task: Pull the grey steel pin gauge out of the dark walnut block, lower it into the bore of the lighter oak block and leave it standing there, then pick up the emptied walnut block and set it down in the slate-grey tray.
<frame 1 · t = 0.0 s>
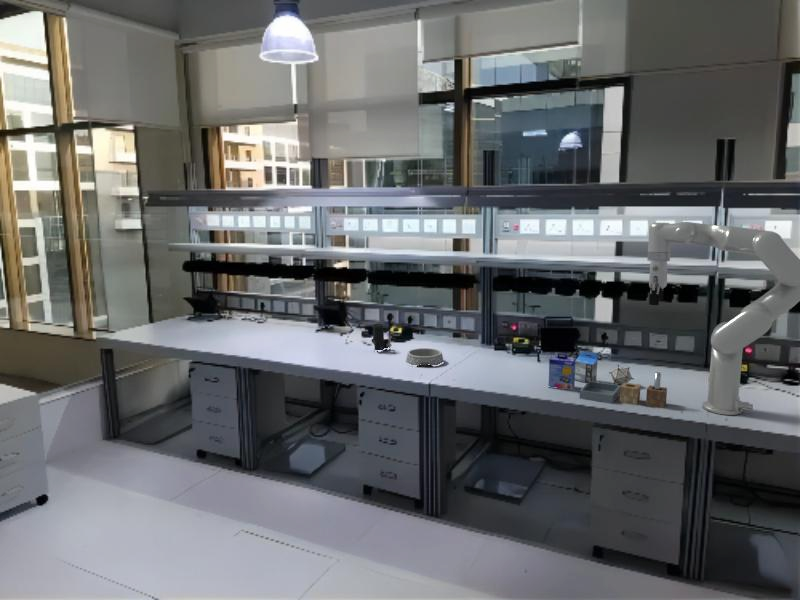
hand: (656, 303, 215), 37 cm above the table, tool pointing down, fingers open, 9 cm apart
scope: (379, 351, 299), on the table
tray: (600, 395, 224), on the table
ink cartridge box: (561, 387, 235), on the table
pin gauge: (657, 388, 213), in the walnut block
label tape box: (584, 381, 243), on the table
oak block: (629, 401, 218), on the table
beige spiked polyhedron: (620, 385, 237), on the table
dog bowl: (424, 363, 276), on the table
walnut block: (656, 404, 214), on the table
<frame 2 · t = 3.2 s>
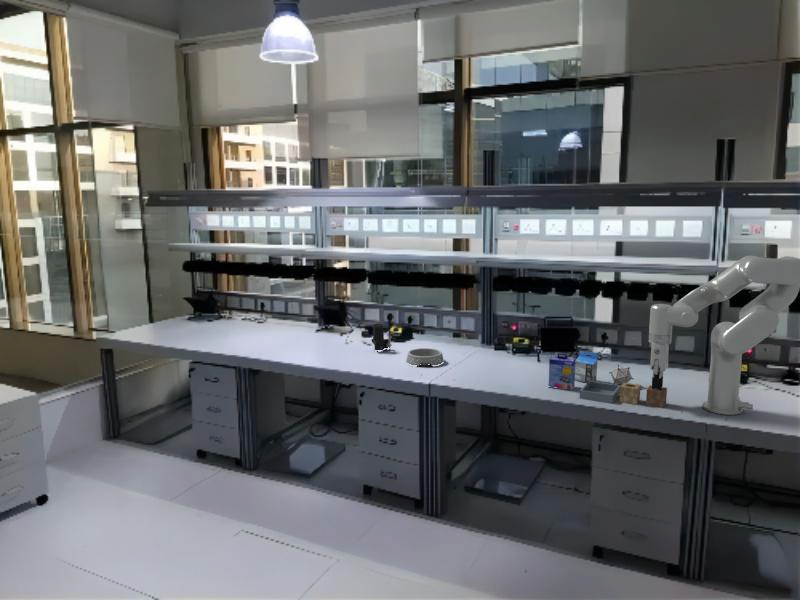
hand: (657, 386, 213), 7 cm above the table, tool pointing down, fingers closed on pin gauge, 2 cm apart
pin gauge: (656, 388, 213), in the walnut block, touching gripper
everything else where it was.
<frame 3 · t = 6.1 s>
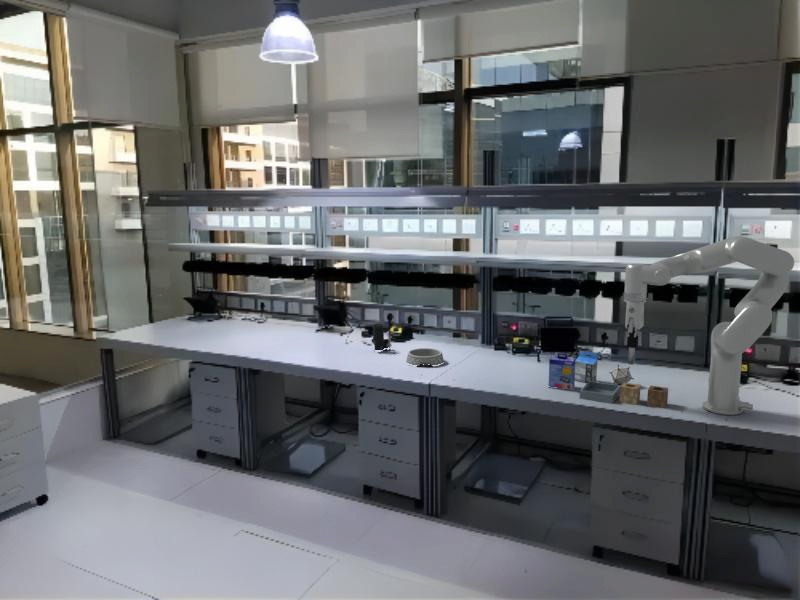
hand: (632, 346, 215), 21 cm above the table, tool pointing down, fingers closed on pin gauge, 2 cm apart
pin gauge: (632, 348, 215), point 20 cm above the table, touching gripper
everything else where it was.
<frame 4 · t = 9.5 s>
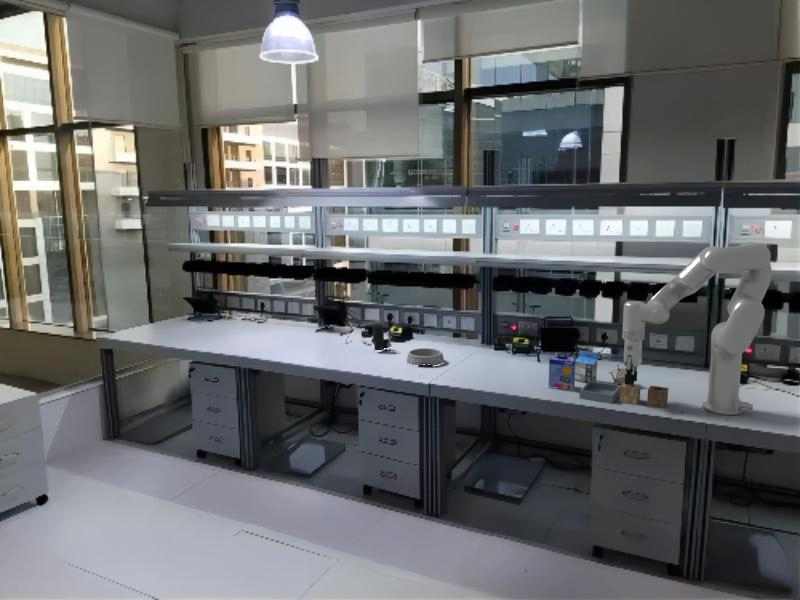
hand: (630, 382, 217), 7 cm above the table, tool pointing down, fingers open, 4 cm apart
pin gauge: (630, 385, 217), in the oak block
everything else where it was.
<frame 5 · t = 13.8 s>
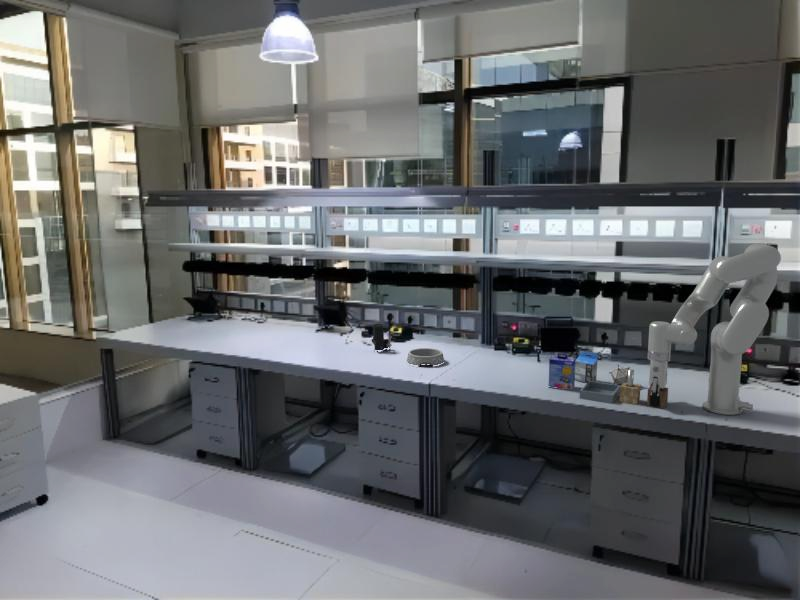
hand: (656, 402, 214), 1 cm above the table, tool pointing down, fingers closed on walnut block, 6 cm apart
walnut block: (657, 404, 214), on the table, touching gripper
everything else where it was.
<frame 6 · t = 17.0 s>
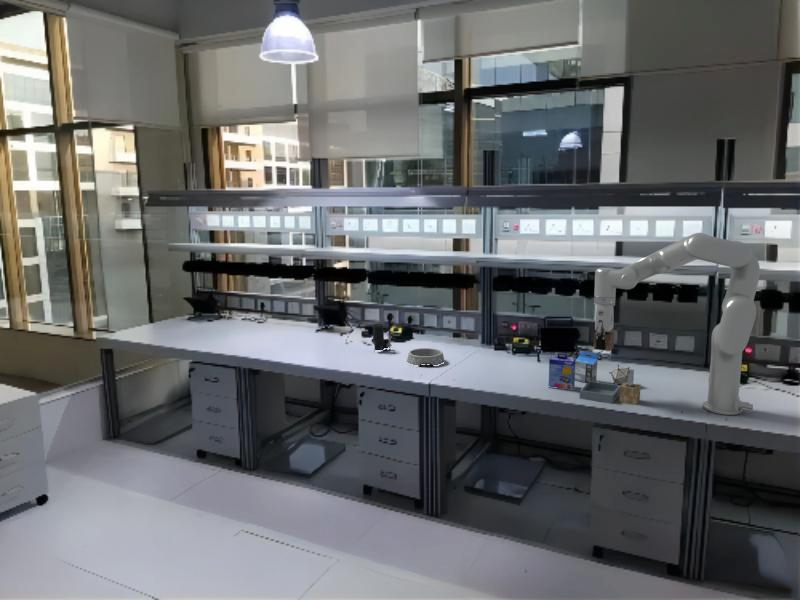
hand: (602, 347, 221), 19 cm above the table, tool pointing down, fingers closed on walnut block, 6 cm apart
walnut block: (603, 348, 221), point 19 cm above the table, touching gripper
everything else where it was.
when the fingers open (3 cm above the table, at t = 20.4 s): walnut block drops 2 cm, resting on tray.
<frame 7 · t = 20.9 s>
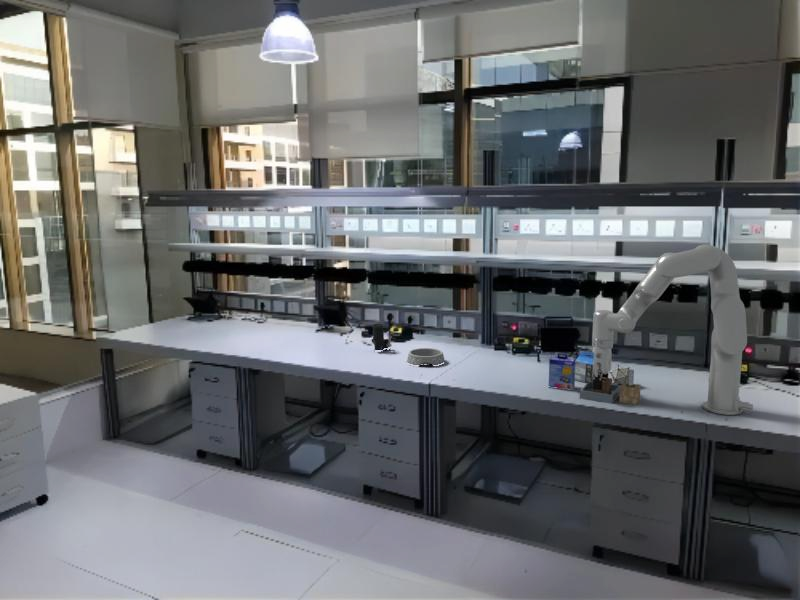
hand: (600, 386, 224), 4 cm above the table, tool pointing down, fingers open, 9 cm apart
walnut block: (601, 394, 224), point 1 cm above the table, touching tray
everything else where it was.
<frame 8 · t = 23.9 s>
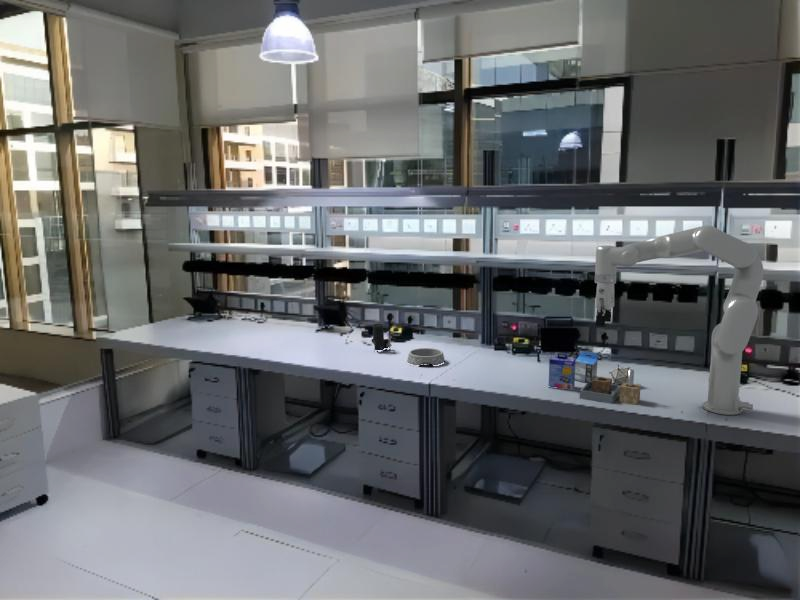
hand: (603, 323, 220), 28 cm above the table, tool pointing down, fingers open, 9 cm apart
nothing on the table moved.
at the end: pin gauge 0.1 cm off-centre on the oak block, point 6.0 cm above the oak block's base; walnut block inside the target area on the tray (0.5 cm from its centre), point 0.6 cm above the tray's base; the gripper is holding nothing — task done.
